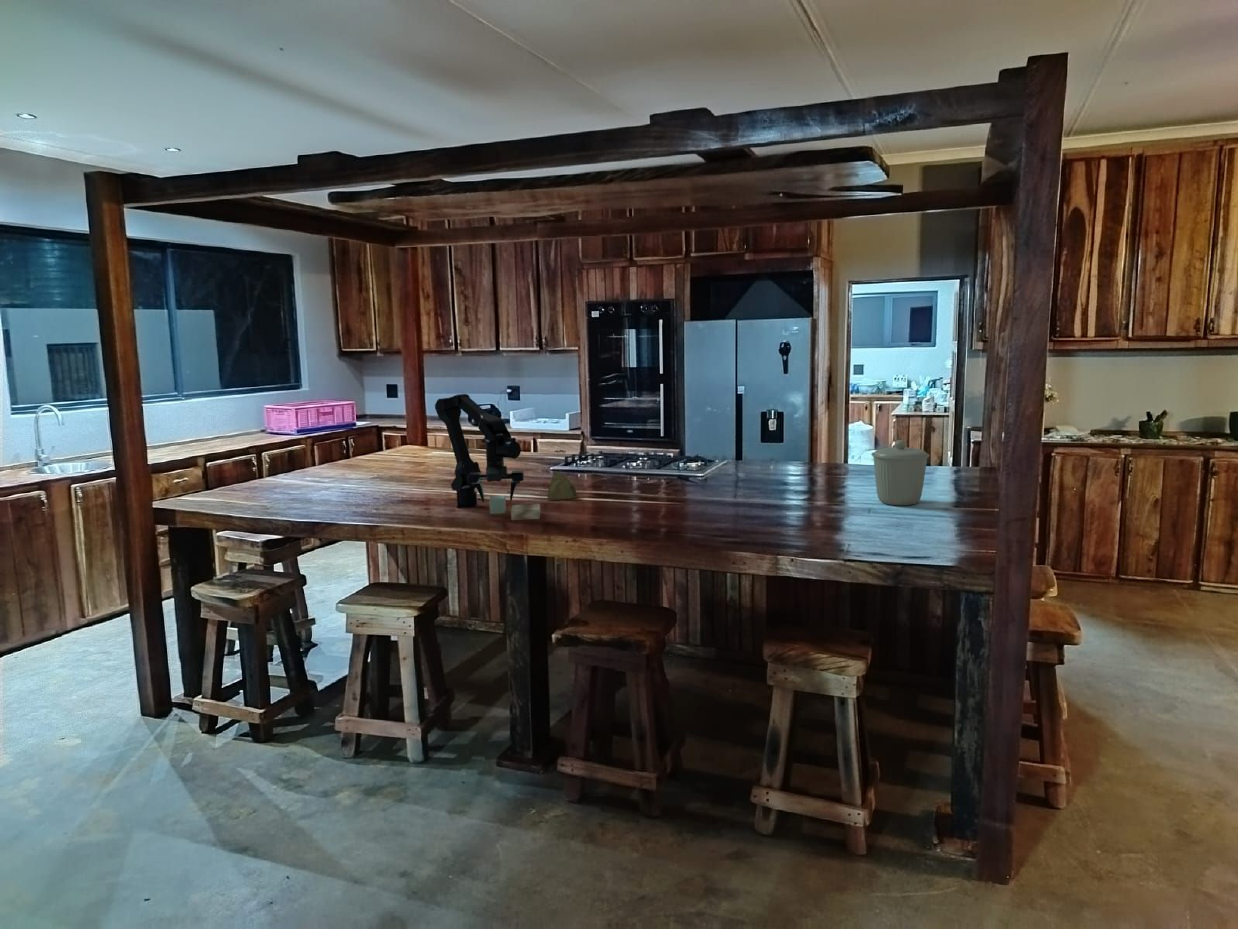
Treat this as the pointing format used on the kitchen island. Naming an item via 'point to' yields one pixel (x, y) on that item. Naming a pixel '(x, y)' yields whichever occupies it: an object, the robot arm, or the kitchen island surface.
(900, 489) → the canister
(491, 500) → the block
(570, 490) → the rock
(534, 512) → the plinth
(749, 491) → the kitchen island surface
